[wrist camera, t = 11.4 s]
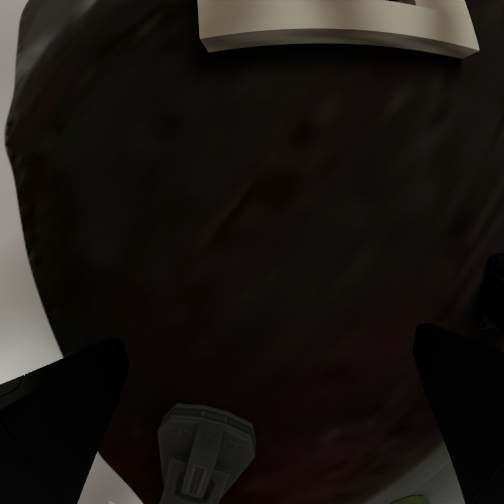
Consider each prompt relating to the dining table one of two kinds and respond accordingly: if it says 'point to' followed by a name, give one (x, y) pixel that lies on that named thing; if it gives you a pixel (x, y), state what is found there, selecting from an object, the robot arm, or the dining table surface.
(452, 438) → the robot arm
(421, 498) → the plant pot
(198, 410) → the zipper pull
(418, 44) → the cutout board
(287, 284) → the dining table surface
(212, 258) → the dining table surface
